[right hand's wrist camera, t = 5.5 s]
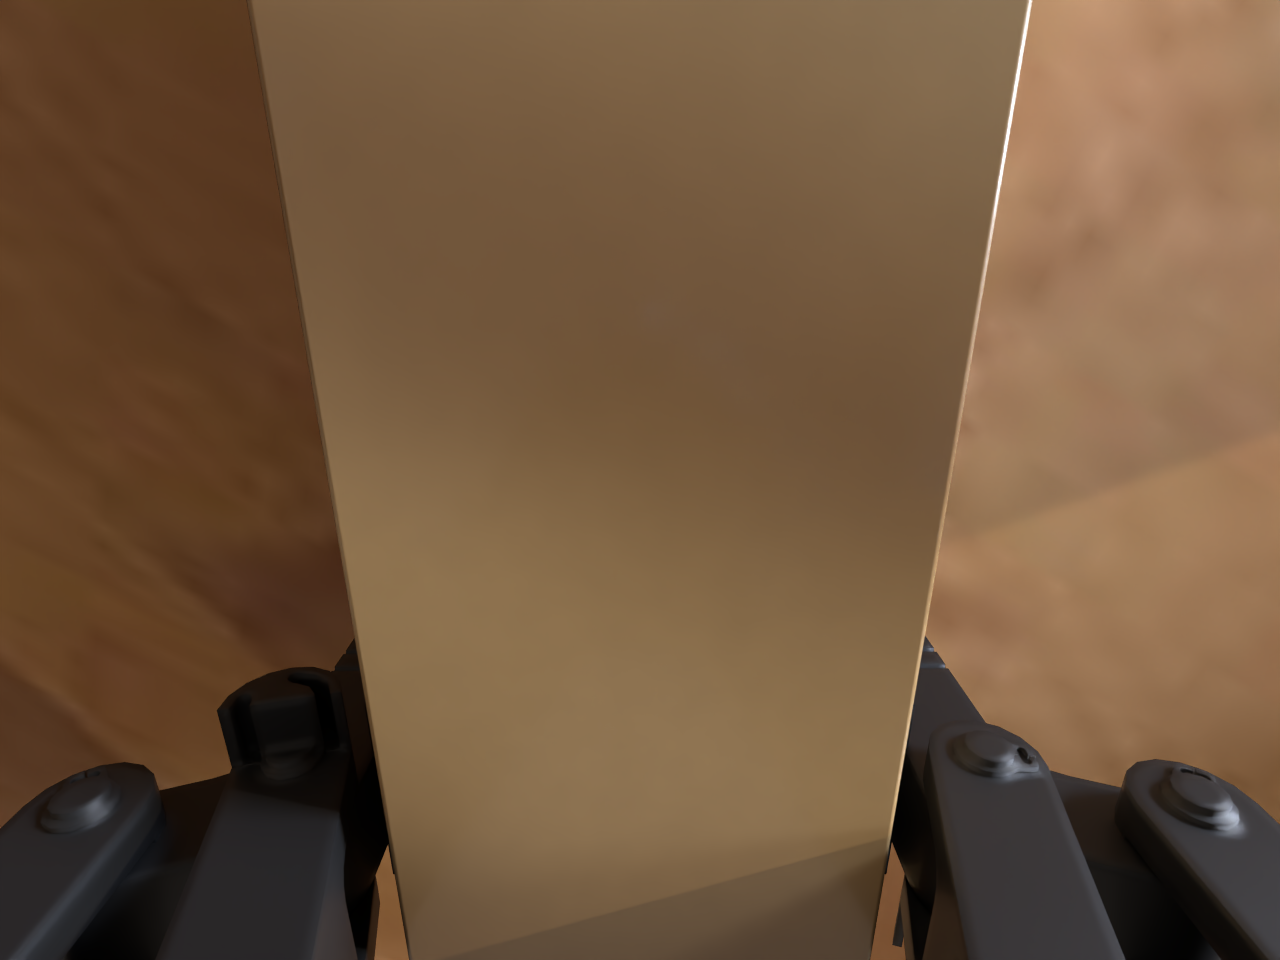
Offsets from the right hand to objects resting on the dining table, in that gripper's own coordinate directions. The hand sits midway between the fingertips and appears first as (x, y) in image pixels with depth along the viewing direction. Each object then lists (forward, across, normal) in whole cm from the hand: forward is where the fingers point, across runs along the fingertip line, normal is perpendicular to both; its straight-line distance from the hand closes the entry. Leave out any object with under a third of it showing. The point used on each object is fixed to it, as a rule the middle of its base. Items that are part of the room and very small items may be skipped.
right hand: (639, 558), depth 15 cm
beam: (+1, 0, -35) cm, 35 cm away
